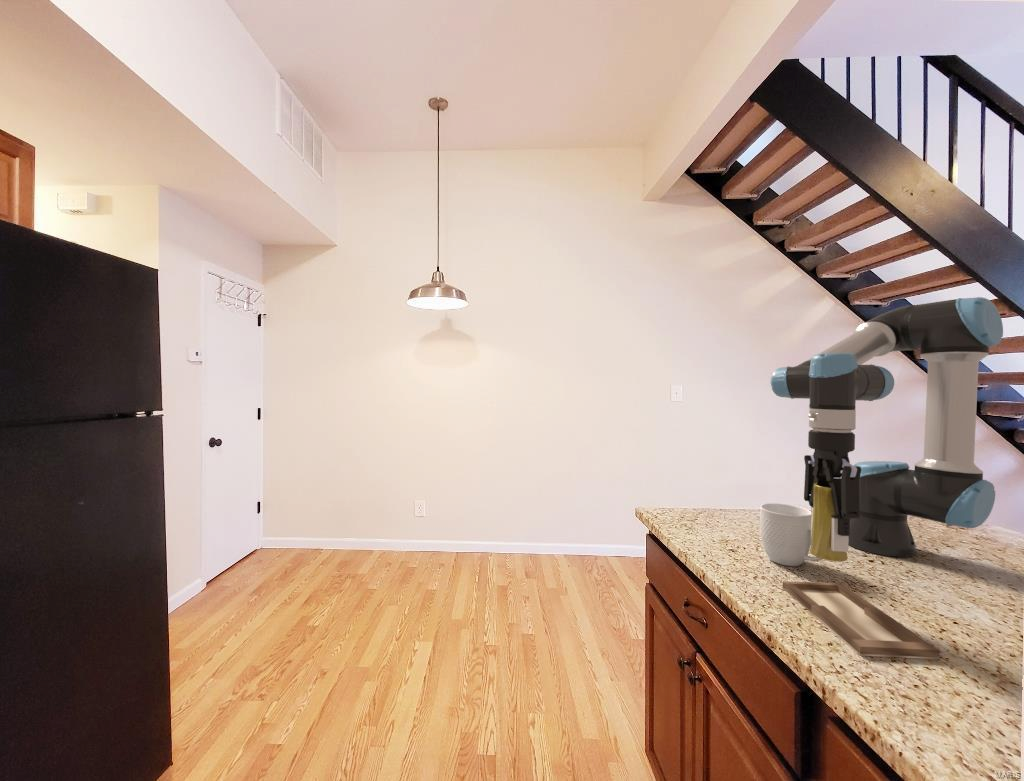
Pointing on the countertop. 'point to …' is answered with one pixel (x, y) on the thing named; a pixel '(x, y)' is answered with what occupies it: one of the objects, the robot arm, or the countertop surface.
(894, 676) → the countertop surface
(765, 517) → the mug
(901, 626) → the shallow serving tray
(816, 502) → the vase
